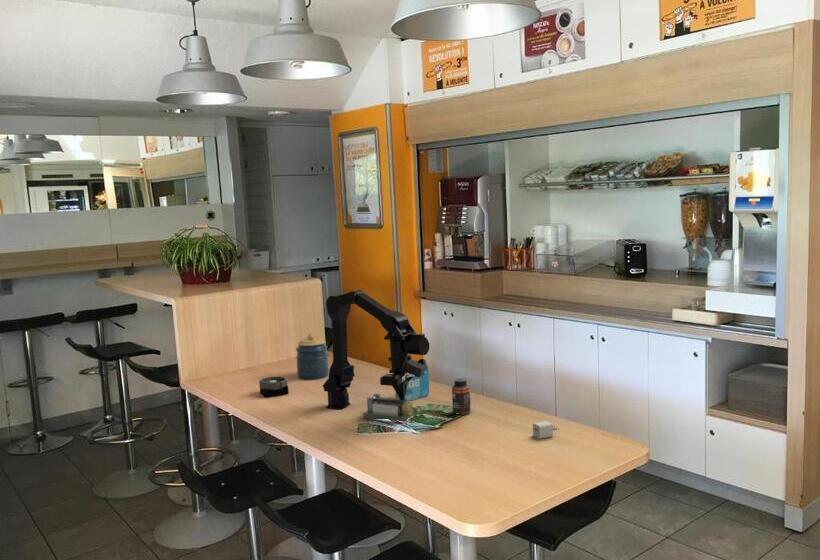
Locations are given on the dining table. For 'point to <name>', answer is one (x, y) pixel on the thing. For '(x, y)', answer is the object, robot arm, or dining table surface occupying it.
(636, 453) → the dining table surface
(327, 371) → the canister
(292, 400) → the dining table surface
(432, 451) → the dining table surface
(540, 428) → the usb wall charger
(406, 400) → the dark grey bar
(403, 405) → the heatsink
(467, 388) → the supplement bottle
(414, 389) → the data package
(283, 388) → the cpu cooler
